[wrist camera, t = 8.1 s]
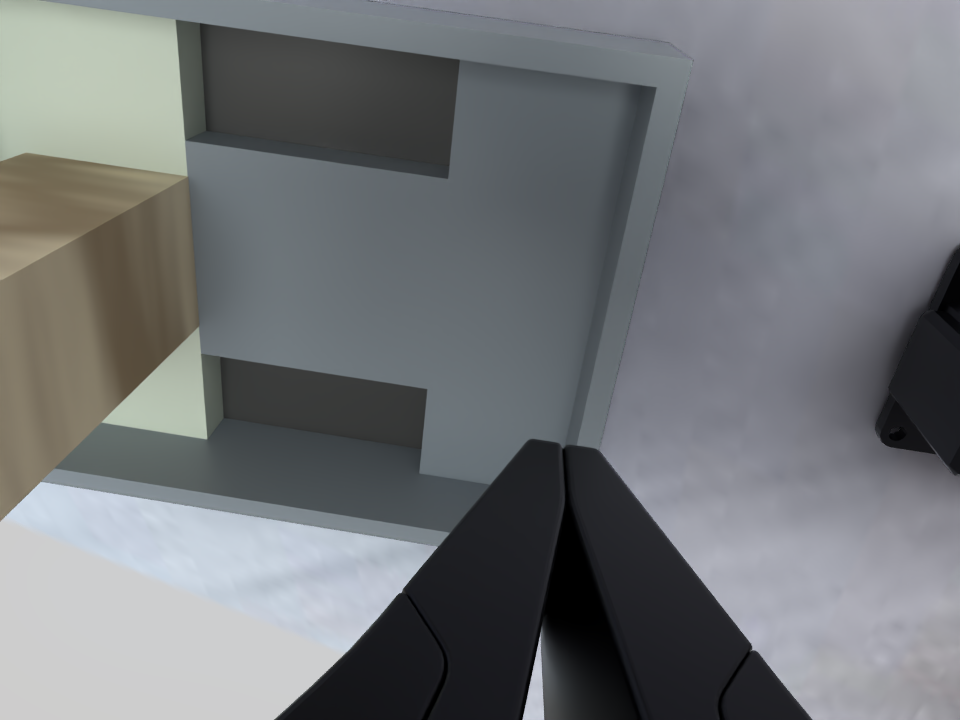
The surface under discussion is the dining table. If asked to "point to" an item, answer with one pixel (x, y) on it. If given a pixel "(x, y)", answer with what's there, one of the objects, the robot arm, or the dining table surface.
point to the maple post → (83, 301)
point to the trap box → (360, 240)
